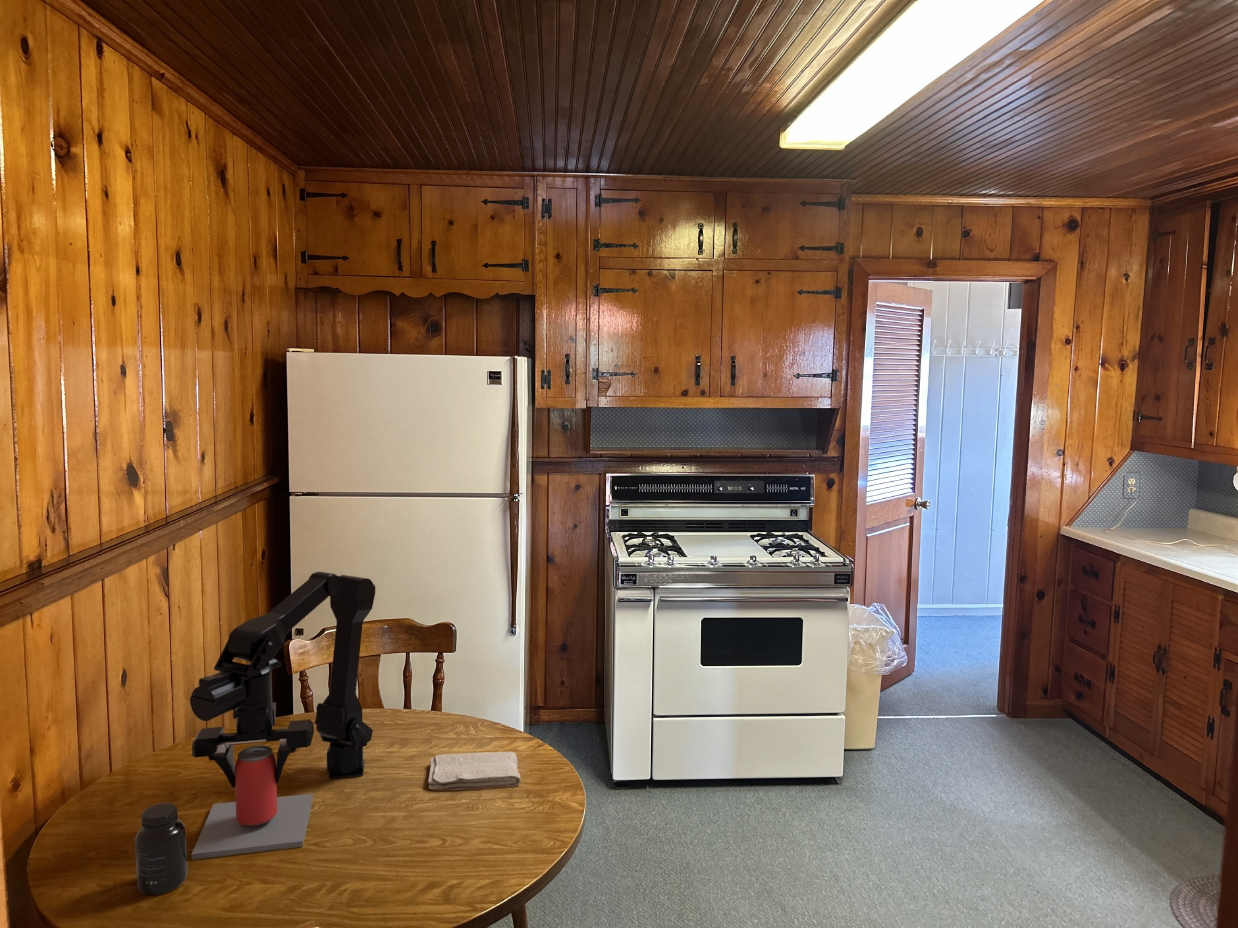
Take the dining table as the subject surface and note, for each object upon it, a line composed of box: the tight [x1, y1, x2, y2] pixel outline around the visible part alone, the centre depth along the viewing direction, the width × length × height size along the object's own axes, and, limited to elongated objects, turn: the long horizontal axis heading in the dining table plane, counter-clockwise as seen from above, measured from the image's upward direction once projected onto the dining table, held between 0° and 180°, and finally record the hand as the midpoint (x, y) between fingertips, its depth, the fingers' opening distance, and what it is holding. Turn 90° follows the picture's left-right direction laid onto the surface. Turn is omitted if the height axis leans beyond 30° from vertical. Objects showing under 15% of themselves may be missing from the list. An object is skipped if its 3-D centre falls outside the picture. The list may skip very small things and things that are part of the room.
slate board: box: [191, 793, 314, 861], centre depth 141 cm, size 17×16×1 cm
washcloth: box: [427, 751, 522, 791], centre depth 162 cm, size 12×18×3 cm, turn 101°
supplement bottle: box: [134, 802, 188, 896], centre depth 124 cm, size 7×7×12 cm
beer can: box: [234, 745, 278, 826], centre depth 140 cm, size 7×7×12 cm
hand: (256, 784), depth 140 cm, fingers closed on beer can, 7 cm apart
